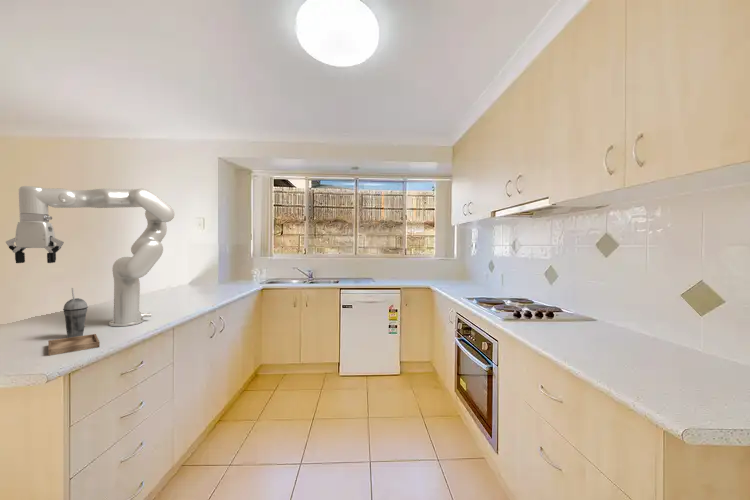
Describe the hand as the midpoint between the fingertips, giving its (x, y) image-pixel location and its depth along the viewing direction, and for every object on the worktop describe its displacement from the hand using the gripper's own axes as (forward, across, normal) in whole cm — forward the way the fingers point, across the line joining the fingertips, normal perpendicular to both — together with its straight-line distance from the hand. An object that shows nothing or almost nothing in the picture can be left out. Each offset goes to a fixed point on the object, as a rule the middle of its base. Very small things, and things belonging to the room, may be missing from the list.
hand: (36, 262), depth 119 cm
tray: (+30, -18, +12) cm, 38 cm away
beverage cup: (+31, -11, -1) cm, 33 cm away
